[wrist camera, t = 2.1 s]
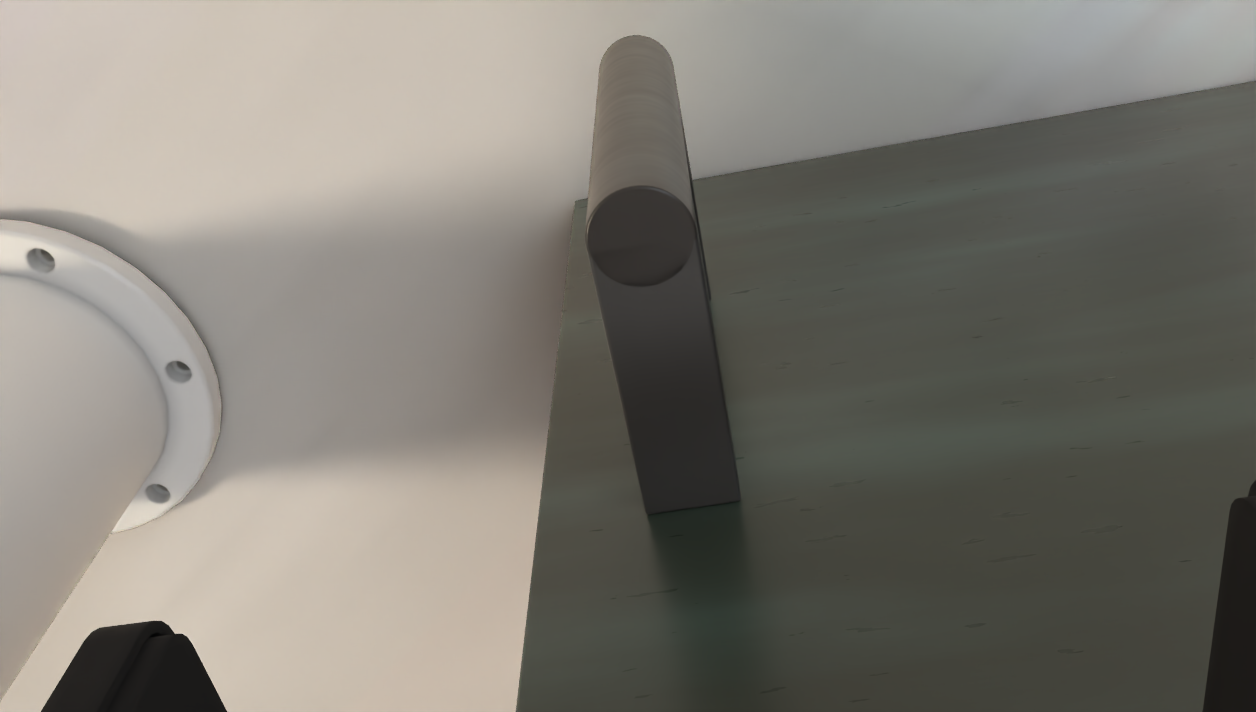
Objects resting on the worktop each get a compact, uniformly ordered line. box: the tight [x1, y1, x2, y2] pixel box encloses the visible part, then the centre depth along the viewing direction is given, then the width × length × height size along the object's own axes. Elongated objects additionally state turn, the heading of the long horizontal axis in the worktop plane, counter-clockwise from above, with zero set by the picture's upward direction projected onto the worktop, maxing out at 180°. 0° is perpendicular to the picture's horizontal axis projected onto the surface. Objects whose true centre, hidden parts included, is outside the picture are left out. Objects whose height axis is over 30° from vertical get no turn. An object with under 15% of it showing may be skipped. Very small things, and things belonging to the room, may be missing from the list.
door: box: [516, 35, 1256, 712], centre depth 22 cm, size 7×26×24 cm, turn 101°
